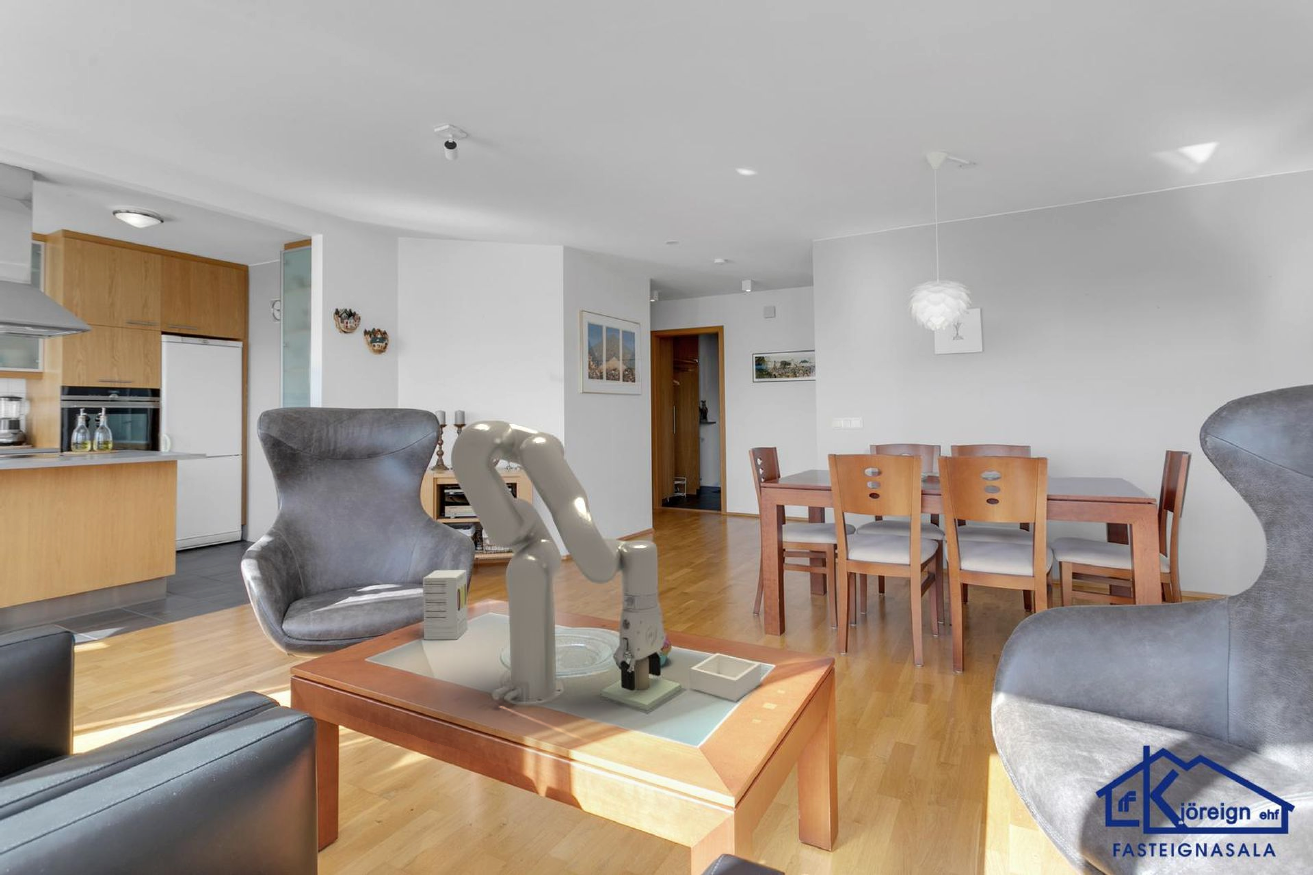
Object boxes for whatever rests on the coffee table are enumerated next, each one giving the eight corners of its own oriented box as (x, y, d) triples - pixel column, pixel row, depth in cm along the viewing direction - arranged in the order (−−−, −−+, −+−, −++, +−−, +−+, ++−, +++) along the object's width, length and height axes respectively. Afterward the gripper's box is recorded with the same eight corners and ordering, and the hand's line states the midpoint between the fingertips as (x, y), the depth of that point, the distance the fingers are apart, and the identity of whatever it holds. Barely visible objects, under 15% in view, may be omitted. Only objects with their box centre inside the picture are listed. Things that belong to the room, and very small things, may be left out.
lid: (646, 710, 128) (646, 674, 128) (601, 695, 135) (600, 661, 135) (680, 689, 138) (680, 656, 138) (636, 676, 145) (636, 644, 145)
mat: (647, 716, 127) (647, 713, 127) (594, 698, 135) (594, 696, 135) (687, 691, 138) (687, 689, 138) (636, 676, 146) (636, 674, 146)
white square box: (735, 704, 132) (735, 680, 131) (690, 691, 138) (690, 668, 138) (760, 686, 140) (760, 663, 140) (717, 674, 147) (717, 652, 147)
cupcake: (668, 672, 148) (667, 621, 148) (632, 670, 150) (631, 619, 150) (674, 659, 157) (673, 610, 156) (640, 656, 158) (639, 608, 158)
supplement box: (457, 640, 172) (456, 577, 172) (423, 640, 172) (421, 578, 172) (468, 628, 182) (467, 569, 181) (435, 628, 182) (434, 569, 181)
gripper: (628, 613, 127) (629, 700, 127) (678, 593, 141) (679, 672, 141) (599, 607, 131) (600, 691, 132) (650, 588, 145) (651, 664, 146)
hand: (641, 681), depth 136 cm, fingers open, 8 cm apart
